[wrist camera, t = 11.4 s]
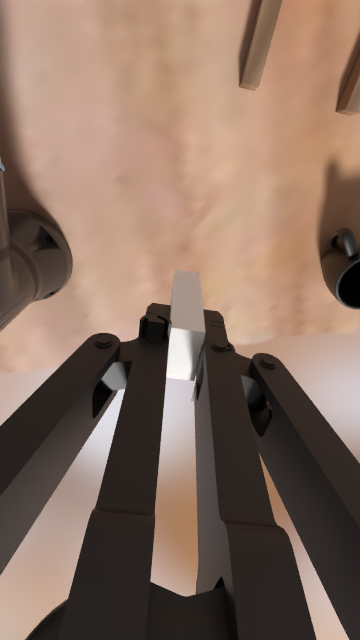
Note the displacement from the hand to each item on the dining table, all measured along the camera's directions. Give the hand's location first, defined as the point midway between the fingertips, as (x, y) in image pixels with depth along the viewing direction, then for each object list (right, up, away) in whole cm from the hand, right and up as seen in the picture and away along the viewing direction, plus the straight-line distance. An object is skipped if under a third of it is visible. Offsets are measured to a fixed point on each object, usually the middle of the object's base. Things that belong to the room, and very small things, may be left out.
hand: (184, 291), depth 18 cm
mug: (+25, +10, +29) cm, 39 cm away
